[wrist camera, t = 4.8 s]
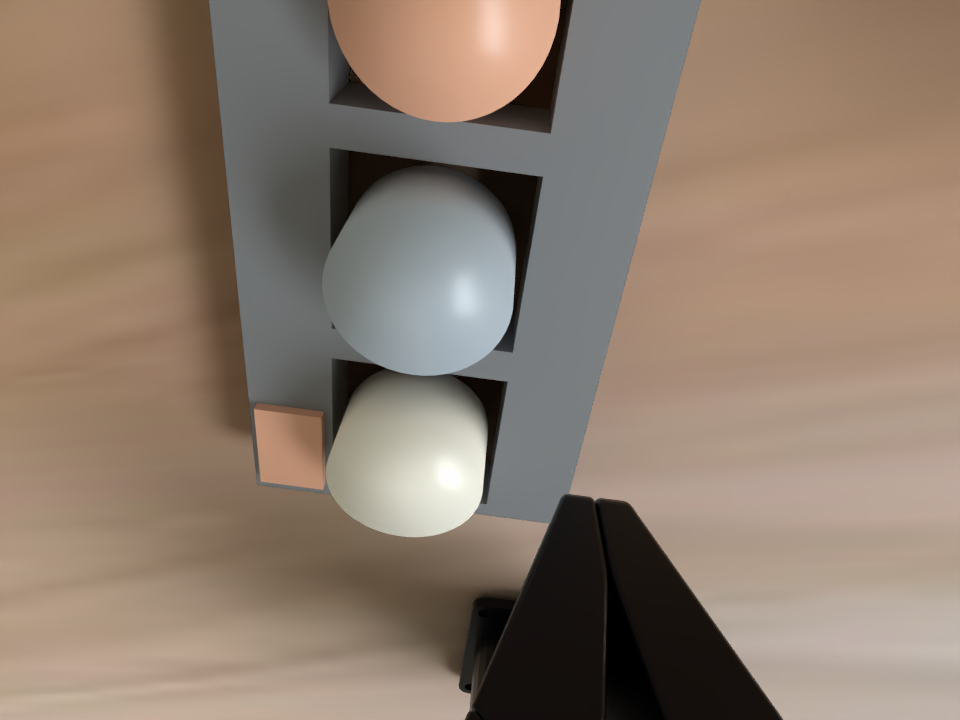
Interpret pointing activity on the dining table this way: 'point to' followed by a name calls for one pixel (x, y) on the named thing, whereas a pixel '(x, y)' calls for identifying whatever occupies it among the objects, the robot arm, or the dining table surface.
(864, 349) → the dining table surface
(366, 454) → the cream button
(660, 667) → the robot arm
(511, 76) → the terracotta button
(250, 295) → the button panel
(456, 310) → the slate button
